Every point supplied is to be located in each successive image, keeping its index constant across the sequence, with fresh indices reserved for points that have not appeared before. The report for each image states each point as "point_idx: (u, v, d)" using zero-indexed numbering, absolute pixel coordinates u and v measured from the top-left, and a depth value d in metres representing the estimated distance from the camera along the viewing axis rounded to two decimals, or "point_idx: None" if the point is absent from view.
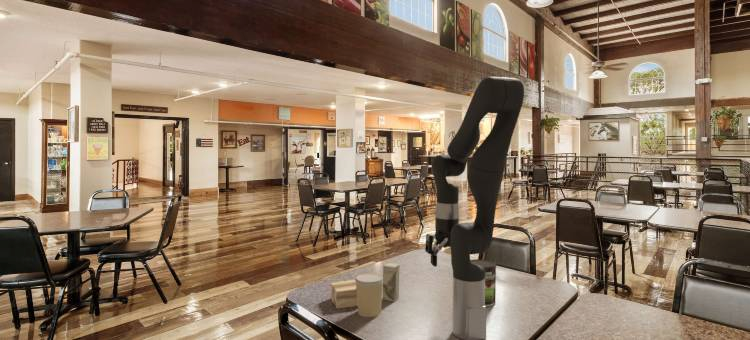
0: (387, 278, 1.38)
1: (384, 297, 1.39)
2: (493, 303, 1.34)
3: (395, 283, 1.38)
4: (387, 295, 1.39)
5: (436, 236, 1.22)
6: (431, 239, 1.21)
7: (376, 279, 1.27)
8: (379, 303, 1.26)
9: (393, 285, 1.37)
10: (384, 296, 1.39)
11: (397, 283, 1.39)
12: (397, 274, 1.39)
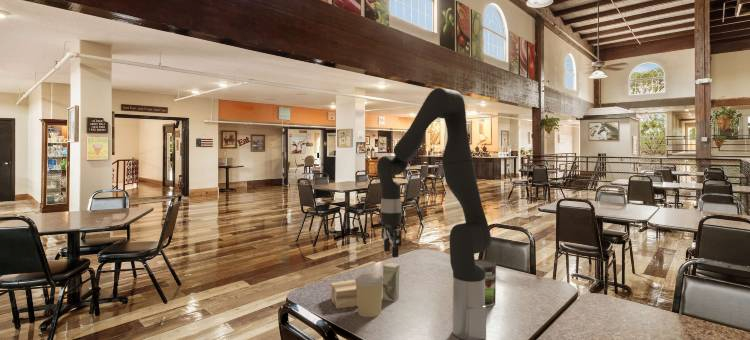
0: (387, 278, 1.38)
1: (384, 297, 1.39)
2: (493, 303, 1.34)
3: (395, 283, 1.38)
4: (387, 295, 1.39)
5: (396, 229, 1.35)
6: None
7: (376, 279, 1.27)
8: (379, 303, 1.26)
9: (393, 285, 1.37)
10: (384, 296, 1.39)
11: (397, 283, 1.39)
12: (397, 274, 1.39)
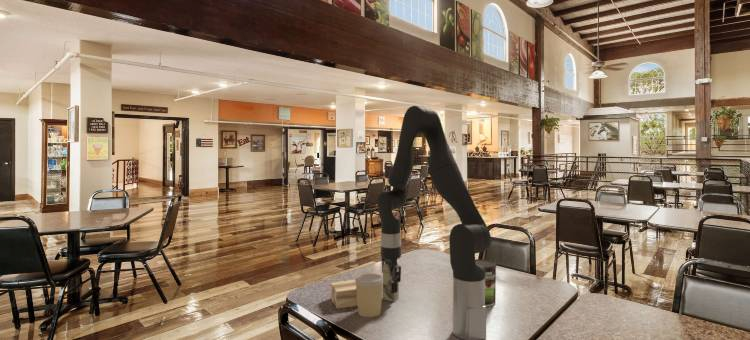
0: (387, 278, 1.38)
1: (384, 297, 1.39)
2: (493, 303, 1.34)
3: None
4: (387, 295, 1.39)
5: (396, 264, 1.36)
6: None
7: (376, 279, 1.27)
8: (379, 303, 1.26)
9: None
10: (384, 296, 1.39)
11: None
12: None
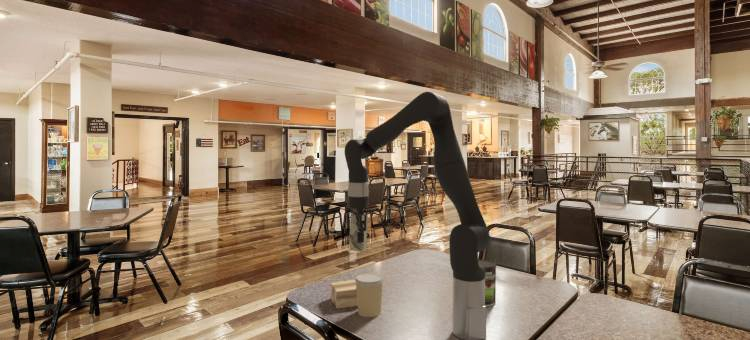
0: (354, 228, 1.36)
1: (351, 248, 1.37)
2: (493, 303, 1.34)
3: None
4: (354, 245, 1.37)
5: (362, 214, 1.34)
6: None
7: (376, 279, 1.27)
8: (379, 303, 1.26)
9: None
10: (351, 247, 1.37)
11: (364, 234, 1.37)
12: None
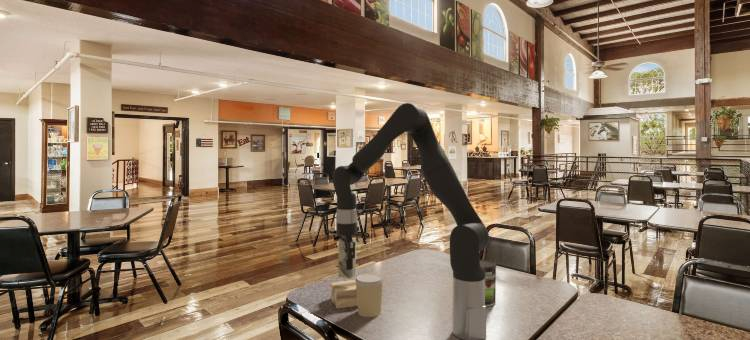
0: (343, 255, 1.36)
1: (340, 274, 1.36)
2: (493, 303, 1.34)
3: None
4: (343, 272, 1.36)
5: (351, 241, 1.33)
6: None
7: (376, 279, 1.27)
8: (379, 303, 1.26)
9: None
10: (340, 273, 1.36)
11: (353, 260, 1.37)
12: None
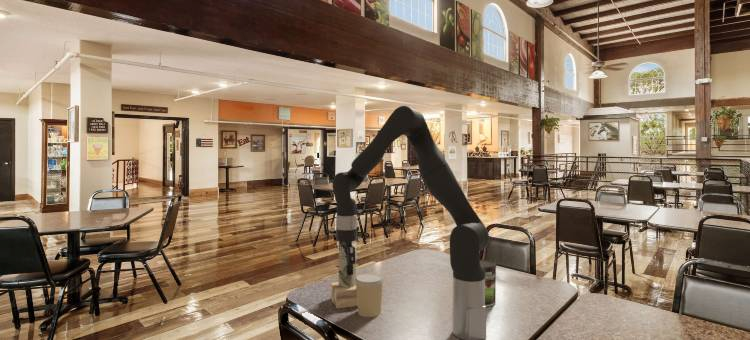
0: (343, 264, 1.36)
1: (340, 283, 1.36)
2: (493, 303, 1.34)
3: None
4: (343, 281, 1.36)
5: (350, 247, 1.33)
6: None
7: (376, 279, 1.27)
8: (379, 303, 1.26)
9: None
10: (340, 282, 1.36)
11: (353, 269, 1.36)
12: None
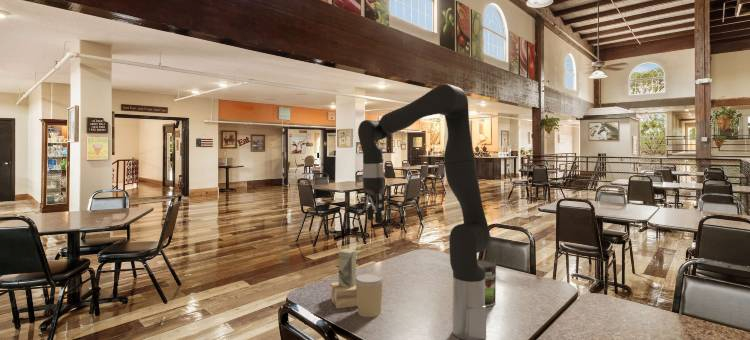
0: (343, 264, 1.36)
1: (340, 283, 1.36)
2: (493, 303, 1.34)
3: (351, 269, 1.35)
4: (343, 281, 1.36)
5: None
6: None
7: (376, 279, 1.27)
8: (379, 303, 1.26)
9: (349, 271, 1.35)
10: (340, 282, 1.36)
11: (353, 269, 1.36)
12: (354, 260, 1.36)
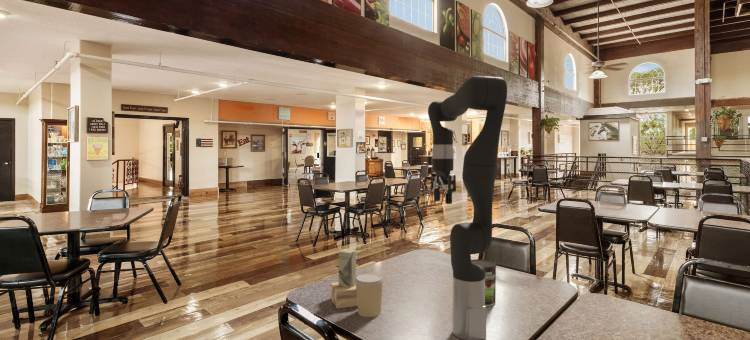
0: (343, 264, 1.36)
1: (340, 283, 1.36)
2: (493, 303, 1.34)
3: (351, 269, 1.35)
4: (343, 281, 1.36)
5: None
6: None
7: (376, 279, 1.27)
8: (379, 303, 1.26)
9: (349, 271, 1.35)
10: (340, 282, 1.36)
11: (353, 269, 1.36)
12: (354, 260, 1.36)
